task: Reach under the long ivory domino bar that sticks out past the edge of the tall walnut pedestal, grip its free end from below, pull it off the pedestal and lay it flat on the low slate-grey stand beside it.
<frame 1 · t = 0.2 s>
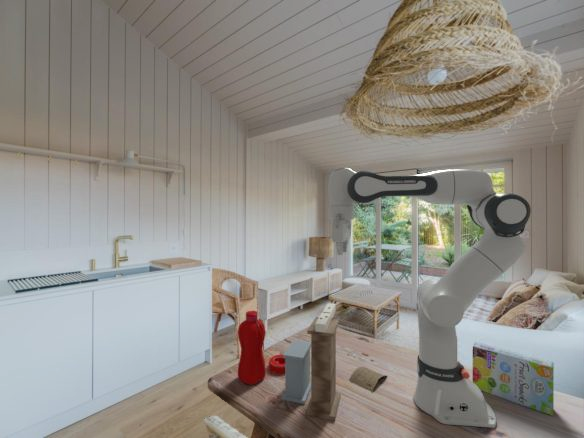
hand: (342, 253, 100), 48 cm above the table, tool pointing down, fingers open, 8 cm apart
decorative ornament: (280, 368, 114), on the table
snack box: (510, 398, 94), on the table
walnut pedestal: (324, 405, 91), on the table
slate stand: (298, 391, 98), on the table
clay tablet: (368, 380, 105), on the table
water bottle: (253, 379, 105), on the table
domino bar: (326, 319, 95), point 26 cm above the table, touching walnut pedestal
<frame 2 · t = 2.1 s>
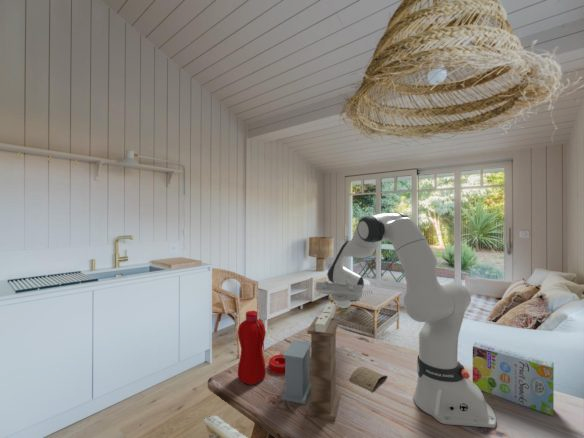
hand: (336, 283, 118), 33 cm above the table, tool pointing upward, fingers open, 8 cm apart
nothing on the table moved.
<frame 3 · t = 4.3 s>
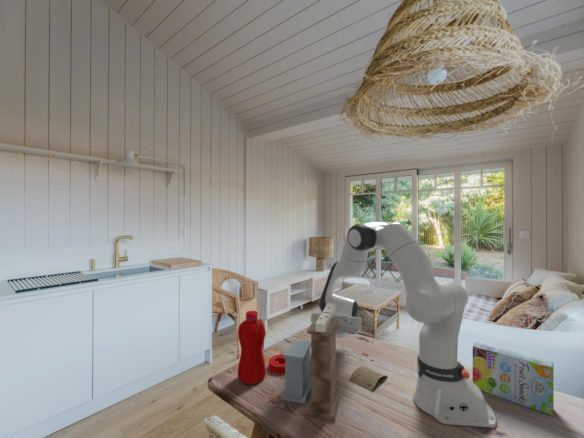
hand: (333, 316, 108), 22 cm above the table, tool pointing upward, fingers open, 8 cm apart
nothing on the table moved.
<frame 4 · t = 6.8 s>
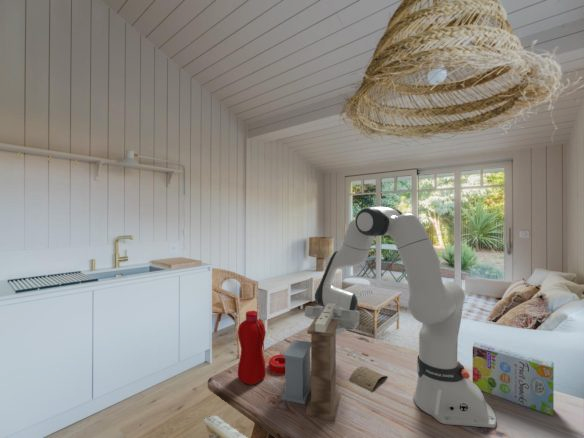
hand: (329, 310, 99), 28 cm above the table, tool pointing upward, fingers closed on domino bar, 3 cm apart
domino bar: (326, 319, 95), point 26 cm above the table, touching gripper, walnut pedestal
everything else where it was.
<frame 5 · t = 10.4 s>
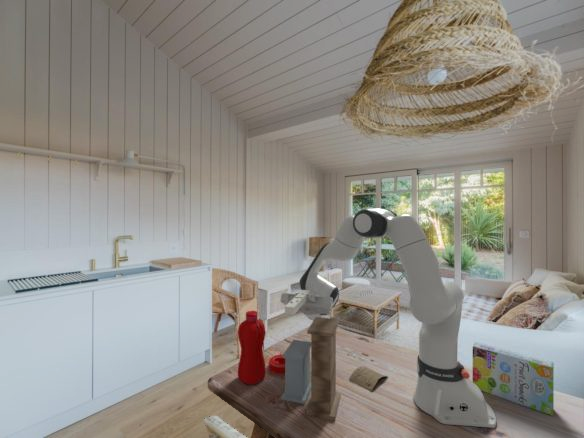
hand: (302, 295, 103), 32 cm above the table, tool pointing upward, fingers closed on domino bar, 3 cm apart
domino bar: (298, 304, 98), point 30 cm above the table, touching gripper
everything else where it was.
when the fingers open (19 cm above the table, at t = 13.8 s): domino bar drops 2 cm, resting on slate stand.
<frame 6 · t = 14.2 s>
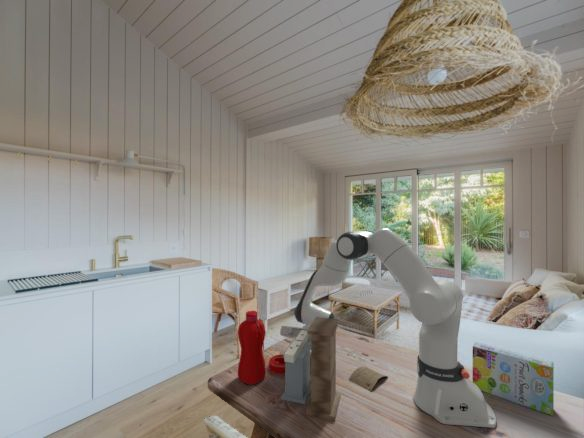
hand: (302, 330, 103), 19 cm above the table, tool pointing upward, fingers open, 8 cm apart
domino bar: (298, 347, 98), point 15 cm above the table, touching slate stand
everything else where it was.
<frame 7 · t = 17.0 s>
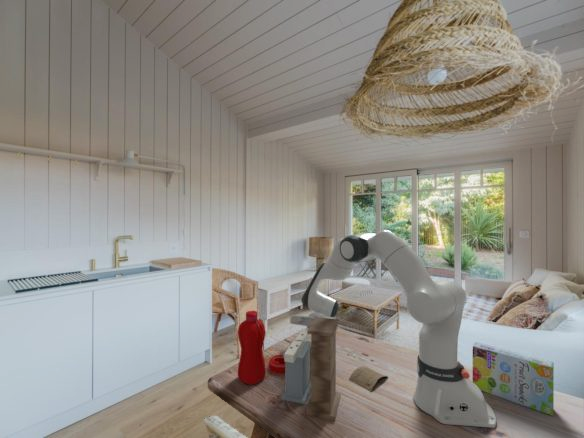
hand: (311, 321, 113), 19 cm above the table, tool pointing upward, fingers open, 8 cm apart
nothing on the table moved.
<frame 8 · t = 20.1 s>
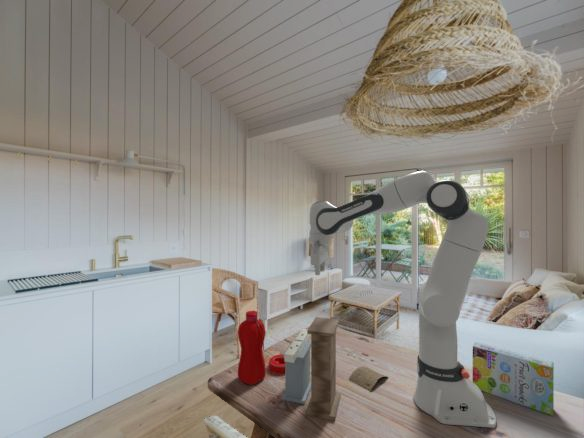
hand: (320, 272, 119), 37 cm above the table, tool pointing down, fingers open, 8 cm apart
nothing on the table moved.
at the end: domino bar inside the target area on the slate stand (0.3 cm from its centre), point 15.0 cm above the slate stand's base; domino bar touching slate stand; the gripper is holding nothing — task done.
